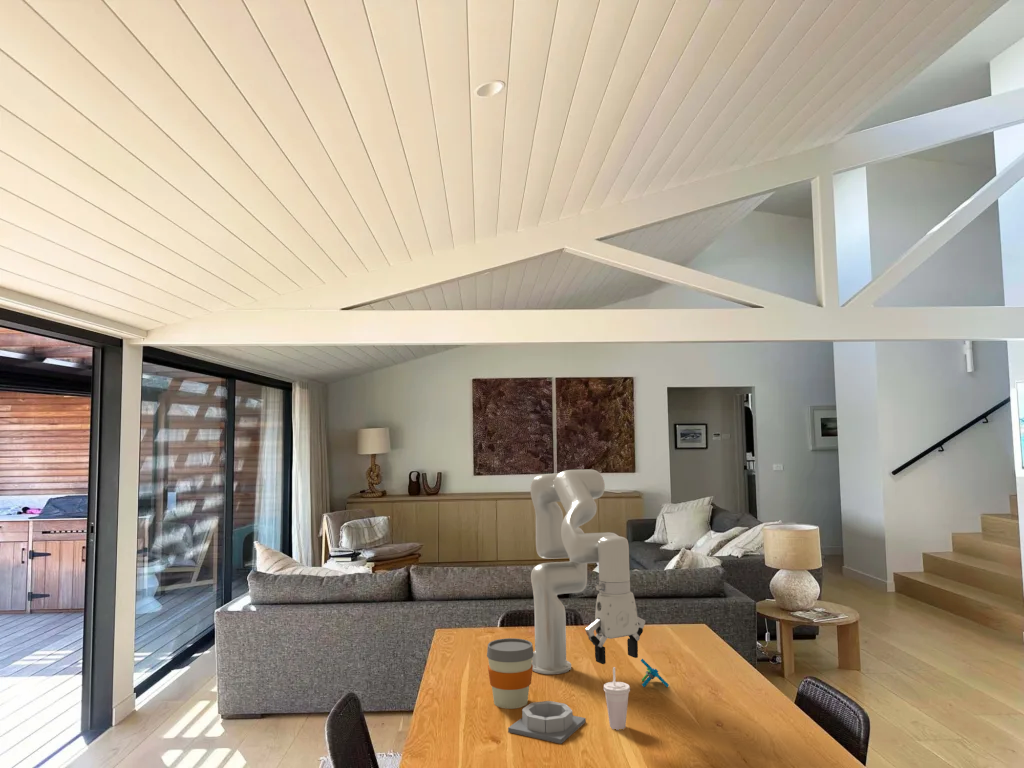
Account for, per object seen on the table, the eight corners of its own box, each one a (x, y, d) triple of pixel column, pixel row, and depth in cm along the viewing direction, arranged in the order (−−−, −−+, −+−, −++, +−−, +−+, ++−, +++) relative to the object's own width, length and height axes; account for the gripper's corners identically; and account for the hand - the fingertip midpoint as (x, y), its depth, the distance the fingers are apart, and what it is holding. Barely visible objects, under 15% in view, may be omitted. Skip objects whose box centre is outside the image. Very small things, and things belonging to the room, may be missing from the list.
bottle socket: (508, 732, 167) (507, 714, 168) (535, 712, 179) (535, 695, 180) (561, 743, 160) (560, 725, 161) (585, 722, 173) (585, 705, 173)
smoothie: (601, 722, 172) (600, 663, 174) (627, 721, 173) (625, 662, 174) (607, 733, 166) (606, 672, 167) (634, 731, 167) (632, 671, 168)
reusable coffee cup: (540, 696, 190) (539, 640, 192) (525, 713, 179) (525, 653, 180) (496, 691, 194) (496, 636, 196) (480, 708, 183) (479, 649, 184)
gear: (673, 686, 192) (646, 659, 194) (659, 703, 191) (632, 675, 193) (666, 679, 203) (640, 653, 204) (652, 694, 202) (626, 668, 204)
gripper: (594, 594, 165) (596, 669, 163) (652, 586, 173) (654, 658, 171) (576, 589, 171) (578, 661, 170) (633, 581, 180) (635, 650, 178)
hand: (616, 659), depth 170 cm, fingers open, 9 cm apart
